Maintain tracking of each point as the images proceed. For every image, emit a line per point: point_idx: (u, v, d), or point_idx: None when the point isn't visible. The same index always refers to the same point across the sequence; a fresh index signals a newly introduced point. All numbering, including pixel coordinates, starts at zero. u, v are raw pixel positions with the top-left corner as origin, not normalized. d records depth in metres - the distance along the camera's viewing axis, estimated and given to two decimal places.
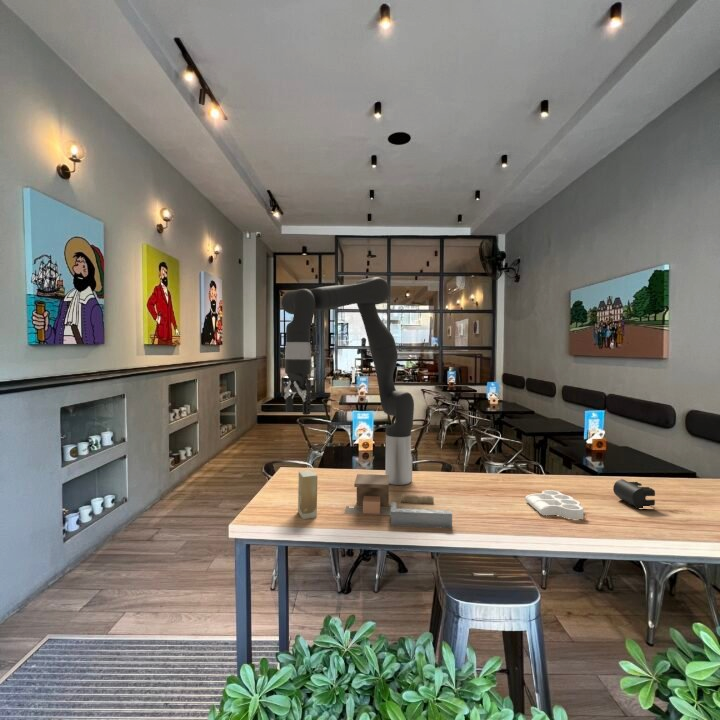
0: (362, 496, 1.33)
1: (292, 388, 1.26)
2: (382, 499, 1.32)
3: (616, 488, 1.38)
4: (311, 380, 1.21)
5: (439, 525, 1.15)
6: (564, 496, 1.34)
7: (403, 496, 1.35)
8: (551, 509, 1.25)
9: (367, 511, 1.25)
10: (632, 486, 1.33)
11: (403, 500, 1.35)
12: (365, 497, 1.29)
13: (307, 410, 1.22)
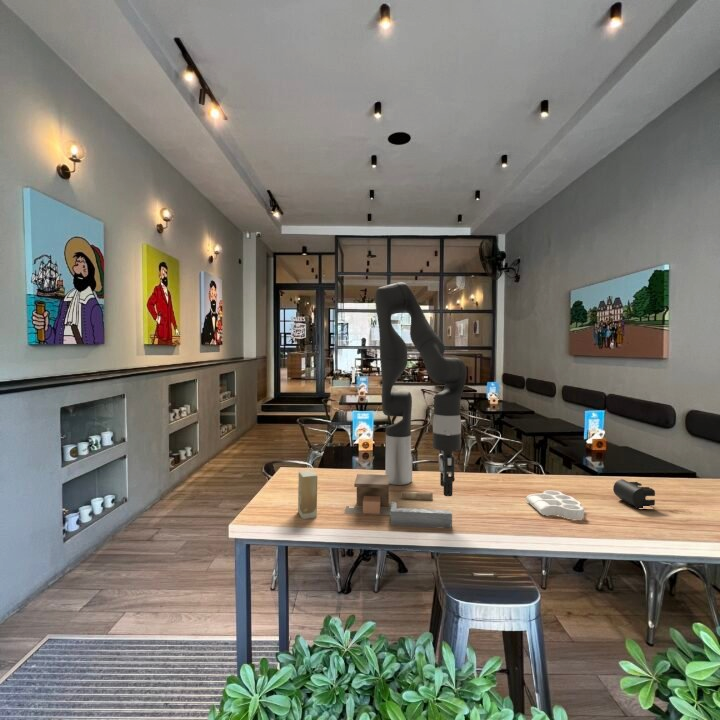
0: (362, 496, 1.33)
1: None
2: (382, 499, 1.32)
3: (616, 488, 1.38)
4: None
5: (439, 525, 1.15)
6: (565, 496, 1.34)
7: None
8: (551, 509, 1.25)
9: (367, 511, 1.25)
10: (632, 486, 1.33)
11: None
12: (365, 497, 1.29)
13: None
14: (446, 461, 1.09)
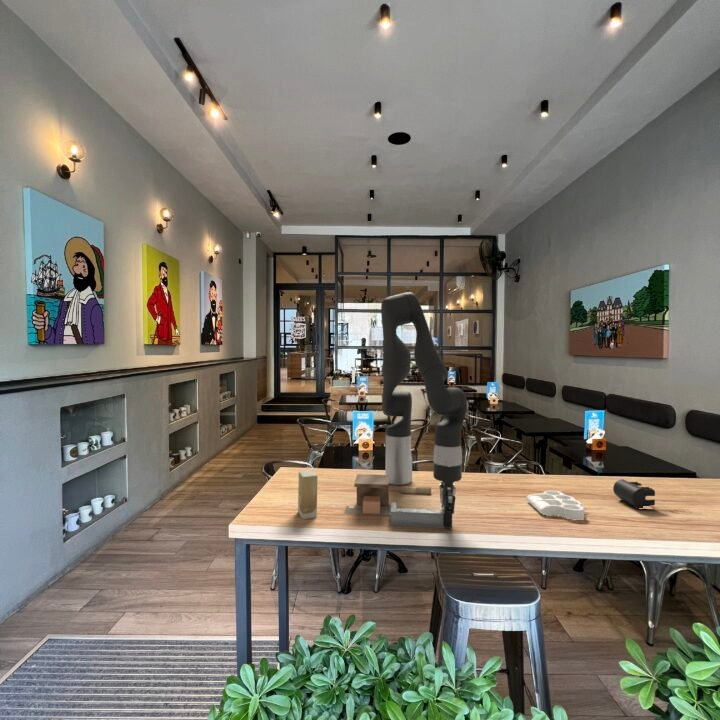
0: (362, 496, 1.33)
1: None
2: (382, 499, 1.32)
3: (616, 488, 1.38)
4: None
5: (439, 525, 1.15)
6: (566, 496, 1.34)
7: None
8: (551, 509, 1.25)
9: (367, 511, 1.25)
10: (632, 486, 1.33)
11: (402, 486, 1.45)
12: (365, 497, 1.29)
13: None
14: (447, 500, 1.10)
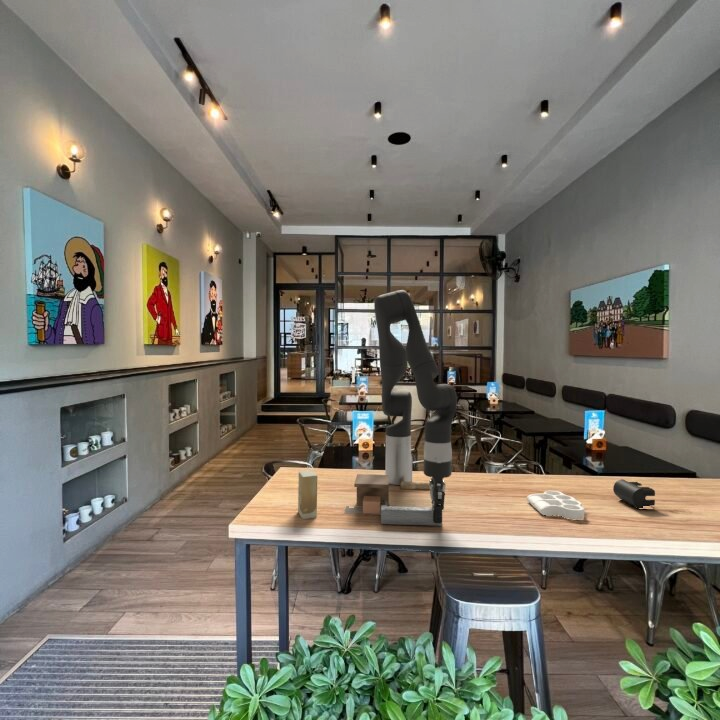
0: (362, 496, 1.33)
1: None
2: (382, 499, 1.32)
3: (616, 488, 1.38)
4: None
5: (429, 522, 1.16)
6: (566, 496, 1.34)
7: (402, 482, 1.50)
8: (551, 509, 1.25)
9: (367, 511, 1.25)
10: (632, 486, 1.33)
11: (402, 484, 1.49)
12: (365, 497, 1.29)
13: None
14: (436, 496, 1.10)
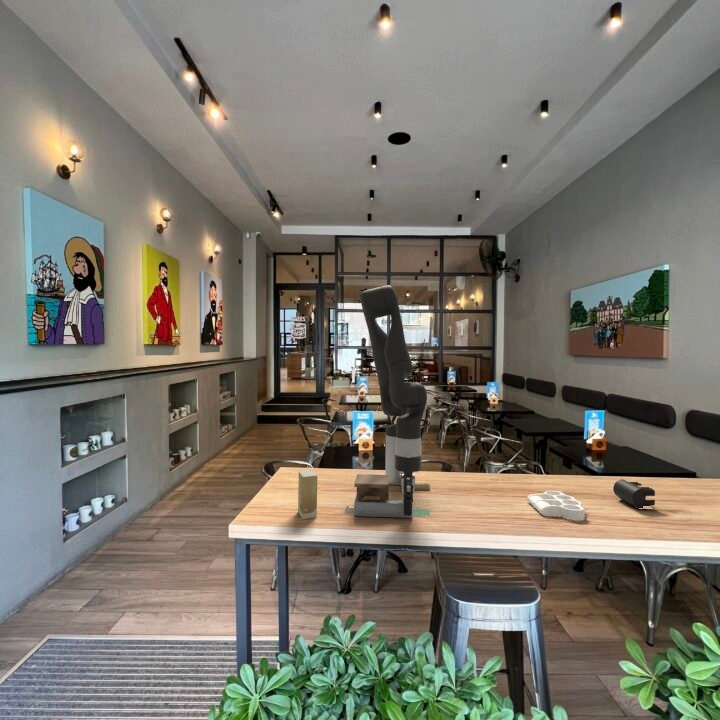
0: (362, 496, 1.33)
1: None
2: (382, 499, 1.32)
3: (616, 488, 1.38)
4: None
5: (400, 514, 1.21)
6: (566, 496, 1.34)
7: None
8: (551, 510, 1.25)
9: None
10: (632, 486, 1.33)
11: None
12: (365, 497, 1.29)
13: None
14: (405, 489, 1.16)
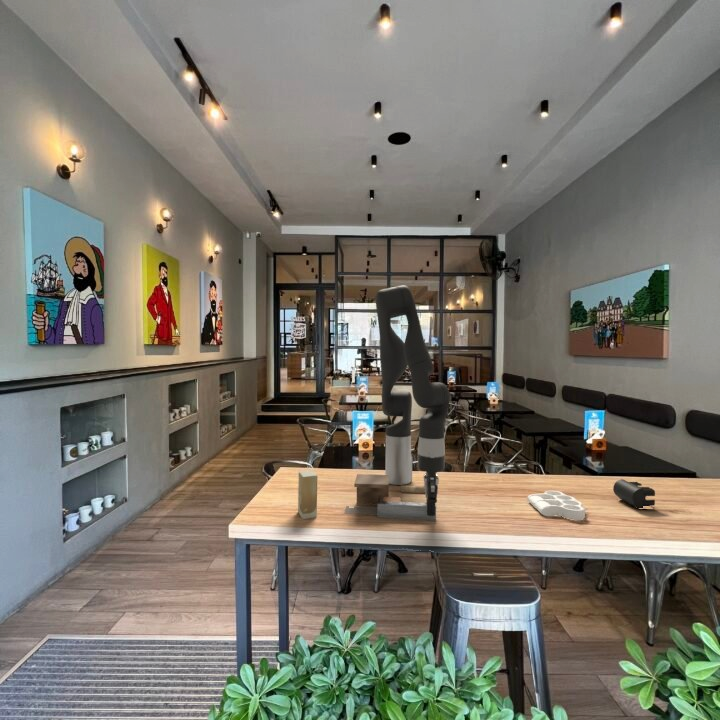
0: (362, 496, 1.33)
1: None
2: None
3: (616, 488, 1.38)
4: None
5: (423, 517, 1.21)
6: (567, 497, 1.34)
7: None
8: (552, 510, 1.25)
9: None
10: (632, 486, 1.33)
11: None
12: (385, 498, 1.28)
13: None
14: (429, 489, 1.15)
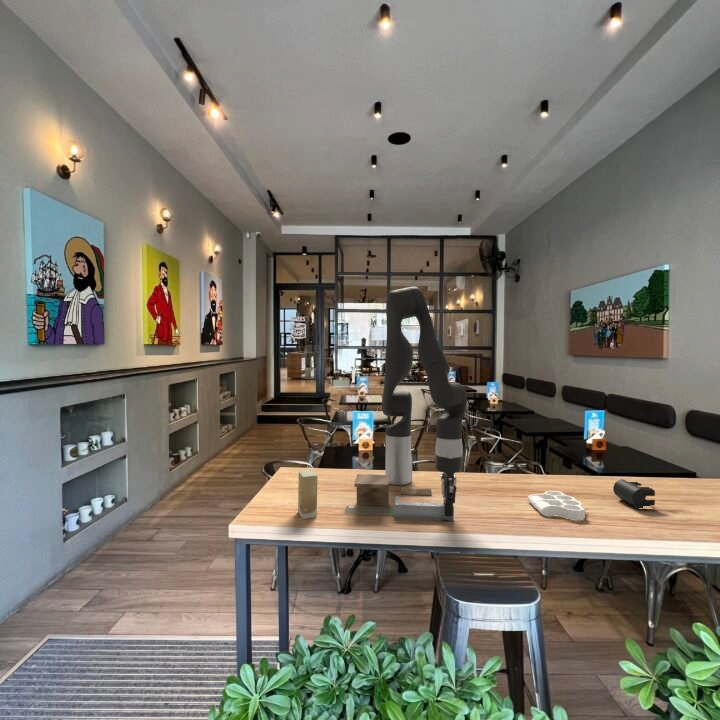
0: (362, 496, 1.33)
1: None
2: (382, 499, 1.32)
3: (616, 488, 1.38)
4: None
5: (441, 518, 1.20)
6: (567, 497, 1.34)
7: None
8: (552, 510, 1.25)
9: None
10: (632, 486, 1.33)
11: (403, 488, 1.43)
12: (401, 499, 1.27)
13: None
14: (448, 490, 1.15)
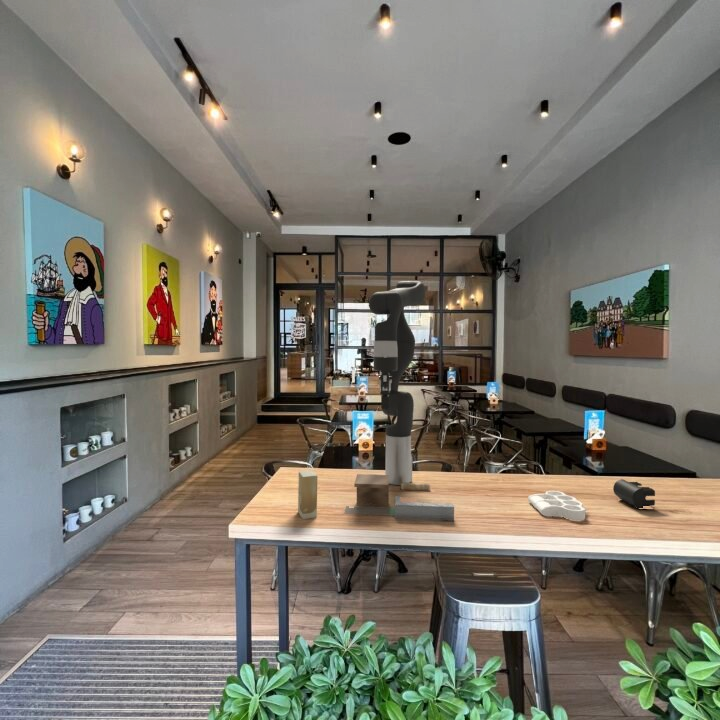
0: (362, 496, 1.33)
1: None
2: (382, 499, 1.32)
3: (616, 488, 1.38)
4: None
5: (441, 518, 1.20)
6: (567, 497, 1.33)
7: (402, 486, 1.47)
8: (552, 510, 1.24)
9: None
10: (632, 486, 1.33)
11: (402, 489, 1.48)
12: (402, 499, 1.27)
13: None
14: (382, 378, 1.28)
